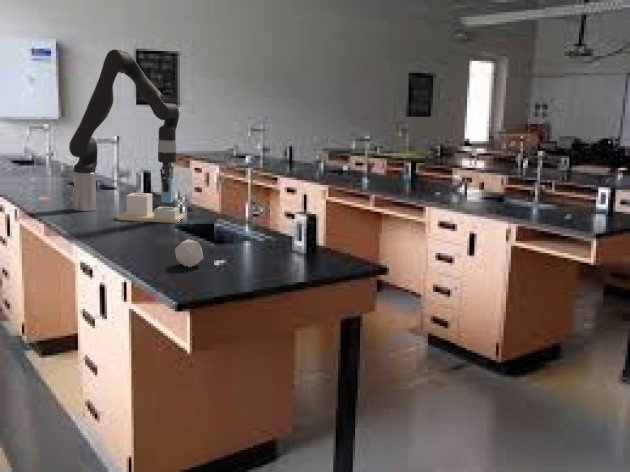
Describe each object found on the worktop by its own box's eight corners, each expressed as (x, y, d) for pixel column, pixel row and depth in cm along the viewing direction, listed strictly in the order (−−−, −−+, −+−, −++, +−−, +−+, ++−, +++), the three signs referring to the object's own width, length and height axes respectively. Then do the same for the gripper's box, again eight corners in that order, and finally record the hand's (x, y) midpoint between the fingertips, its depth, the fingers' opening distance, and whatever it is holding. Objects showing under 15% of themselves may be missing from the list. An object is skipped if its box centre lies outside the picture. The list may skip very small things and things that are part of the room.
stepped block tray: (117, 219, 272) (117, 196, 270) (127, 214, 286) (127, 192, 284) (178, 223, 272) (178, 199, 270) (185, 217, 286) (185, 195, 284)
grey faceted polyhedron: (183, 262, 210) (167, 241, 204) (207, 250, 210) (192, 228, 204) (185, 278, 203) (169, 256, 197) (210, 265, 203) (195, 243, 197)
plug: (161, 202, 273) (161, 179, 271) (163, 200, 277) (163, 178, 275) (170, 202, 273) (170, 179, 271) (172, 201, 277) (172, 178, 275)
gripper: (162, 149, 278) (162, 188, 281) (153, 151, 264) (154, 193, 267) (179, 150, 278) (179, 189, 281) (172, 152, 264) (171, 193, 267)
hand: (167, 190), depth 274 cm, fingers closed on plug, 4 cm apart
